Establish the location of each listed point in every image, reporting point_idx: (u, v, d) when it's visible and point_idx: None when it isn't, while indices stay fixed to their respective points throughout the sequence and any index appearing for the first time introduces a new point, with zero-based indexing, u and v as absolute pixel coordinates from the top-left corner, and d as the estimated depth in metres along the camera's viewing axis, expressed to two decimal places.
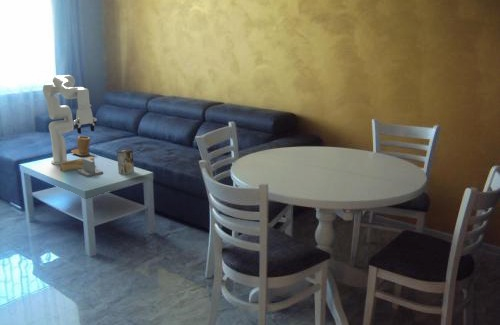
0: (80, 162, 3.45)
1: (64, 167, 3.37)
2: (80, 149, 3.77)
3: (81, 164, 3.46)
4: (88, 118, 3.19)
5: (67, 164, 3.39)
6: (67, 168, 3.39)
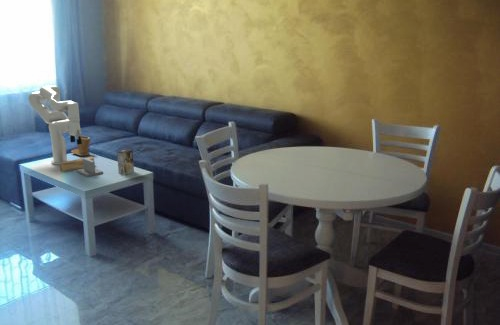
0: (80, 162, 3.45)
1: (64, 167, 3.37)
2: (80, 149, 3.77)
3: (81, 164, 3.46)
4: None
5: (67, 164, 3.39)
6: (67, 168, 3.39)
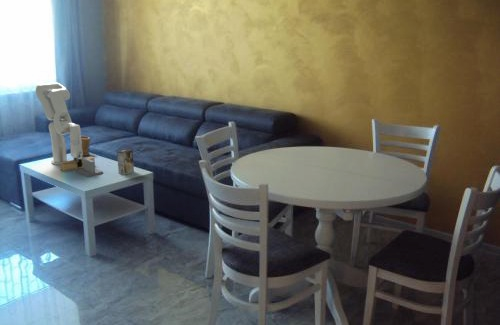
0: None
1: (64, 167, 3.37)
2: None
3: None
4: None
5: (67, 164, 3.38)
6: (67, 168, 3.39)
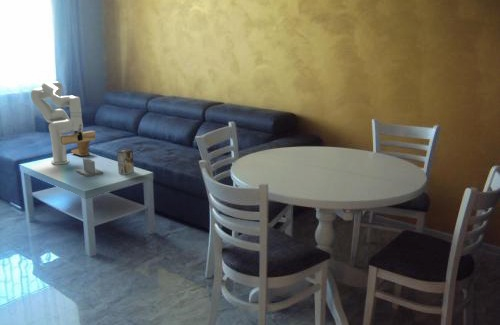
0: None
1: (64, 140, 3.29)
2: (80, 149, 3.77)
3: (82, 137, 3.38)
4: None
5: (67, 137, 3.30)
6: (67, 141, 3.31)
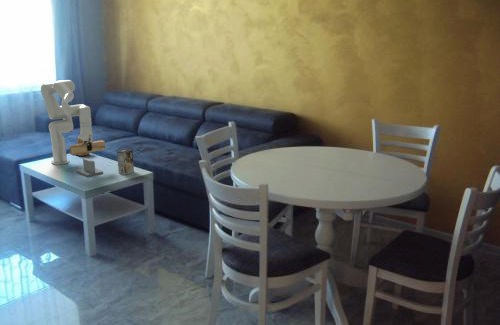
0: None
1: (74, 150, 3.22)
2: None
3: None
4: None
5: (77, 147, 3.23)
6: (77, 151, 3.23)
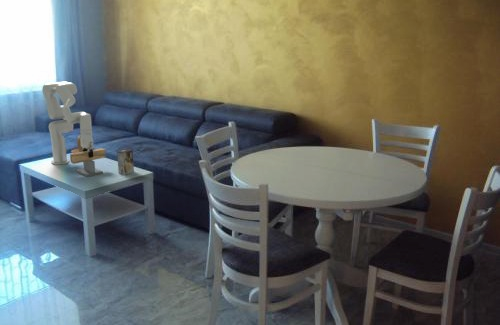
0: None
1: (74, 159, 3.23)
2: (80, 149, 3.77)
3: None
4: None
5: (77, 155, 3.25)
6: (77, 160, 3.25)
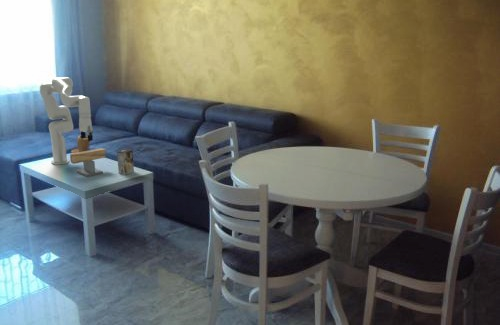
0: (91, 153, 3.31)
1: (74, 159, 3.23)
2: (80, 149, 3.77)
3: (92, 156, 3.32)
4: None
5: (77, 155, 3.25)
6: (77, 160, 3.25)
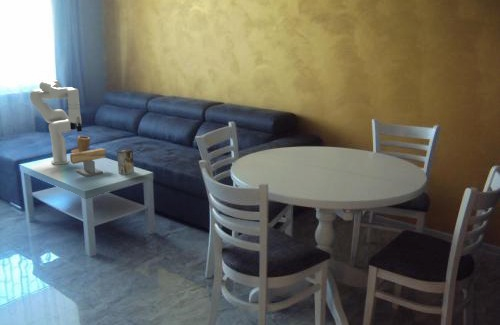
0: (91, 153, 3.31)
1: (74, 159, 3.23)
2: (80, 149, 3.77)
3: (92, 156, 3.32)
4: None
5: (77, 155, 3.25)
6: (77, 160, 3.25)
